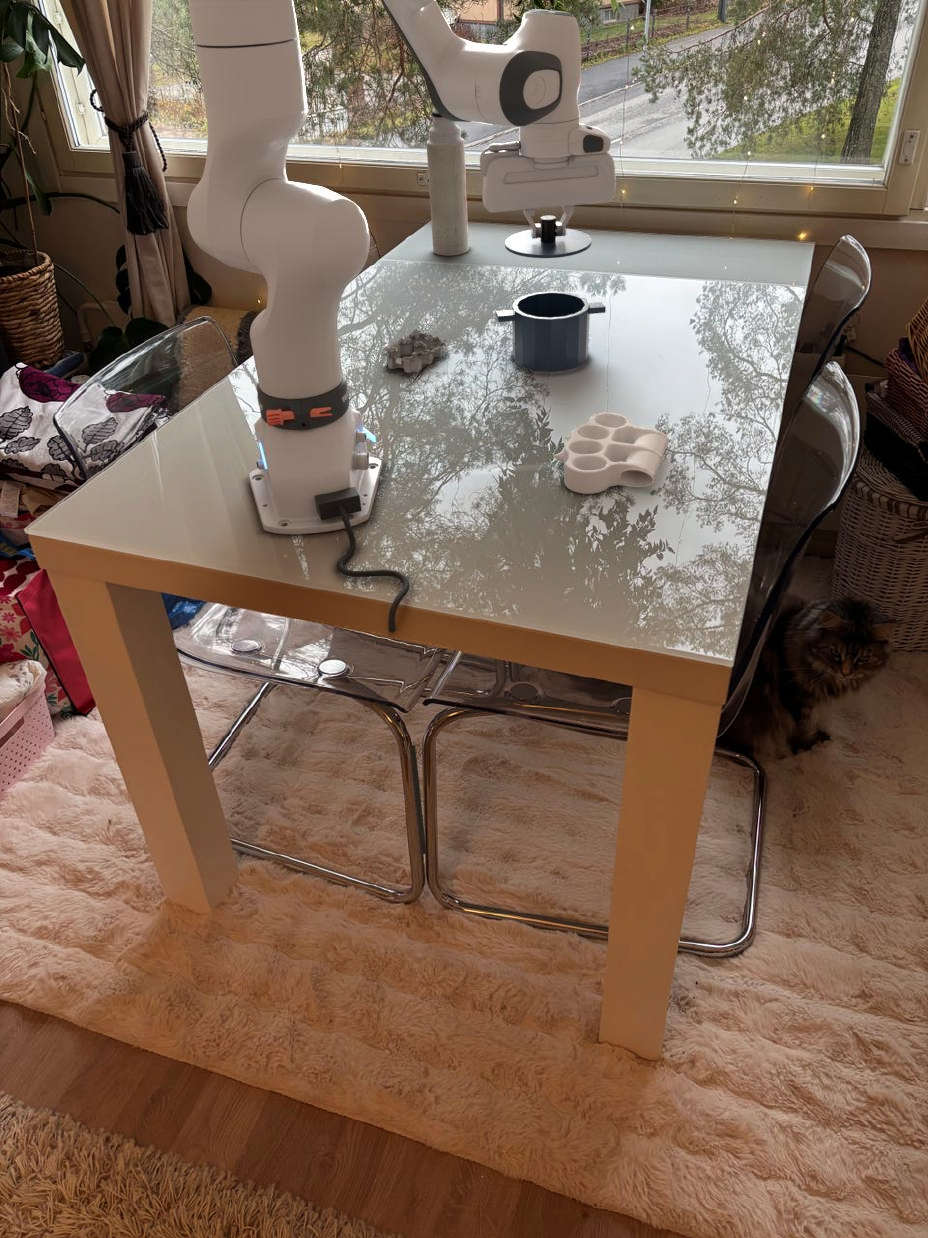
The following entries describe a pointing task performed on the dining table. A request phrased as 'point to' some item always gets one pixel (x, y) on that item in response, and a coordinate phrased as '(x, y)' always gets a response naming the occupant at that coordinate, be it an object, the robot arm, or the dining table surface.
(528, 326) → the pot
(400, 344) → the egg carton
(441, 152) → the thermos bottle
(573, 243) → the lid
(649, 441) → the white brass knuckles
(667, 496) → the dining table surface
